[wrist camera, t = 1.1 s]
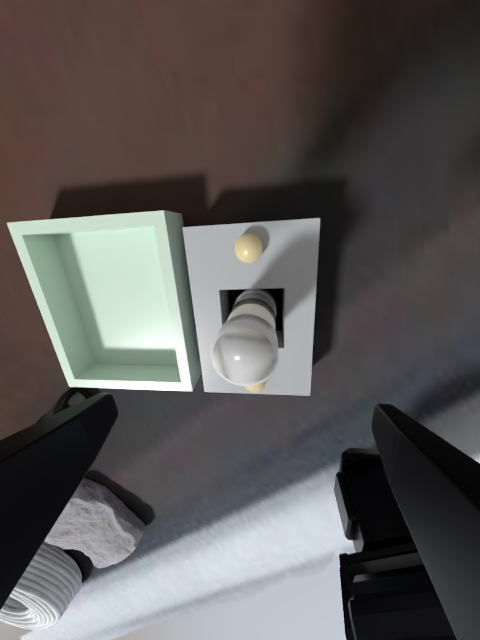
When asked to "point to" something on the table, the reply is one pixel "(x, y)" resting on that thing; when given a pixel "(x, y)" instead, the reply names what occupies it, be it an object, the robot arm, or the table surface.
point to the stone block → (97, 525)
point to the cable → (43, 590)
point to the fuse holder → (256, 273)
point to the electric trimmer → (69, 400)
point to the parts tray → (115, 298)
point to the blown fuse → (248, 340)
